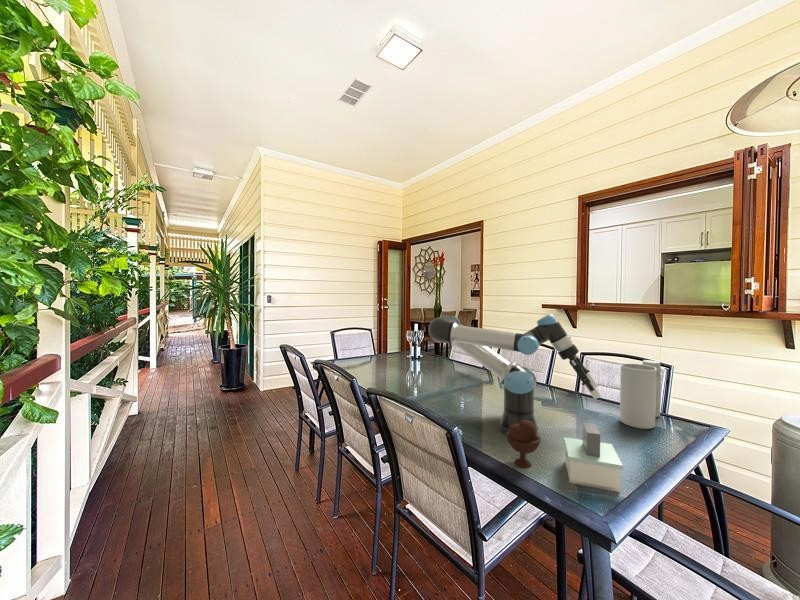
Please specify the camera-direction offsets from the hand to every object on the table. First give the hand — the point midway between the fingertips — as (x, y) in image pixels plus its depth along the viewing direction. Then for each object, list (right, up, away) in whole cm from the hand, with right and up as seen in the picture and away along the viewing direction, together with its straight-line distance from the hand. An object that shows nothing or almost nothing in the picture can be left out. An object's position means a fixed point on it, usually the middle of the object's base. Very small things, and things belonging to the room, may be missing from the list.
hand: (596, 392), depth 136 cm
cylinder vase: (+22, -16, +8) cm, 29 cm away
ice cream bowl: (-40, -17, -25) cm, 50 cm away
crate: (-21, -17, -32) cm, 42 cm away
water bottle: (+35, -16, +18) cm, 42 cm away
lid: (-21, -10, -32) cm, 40 cm away
